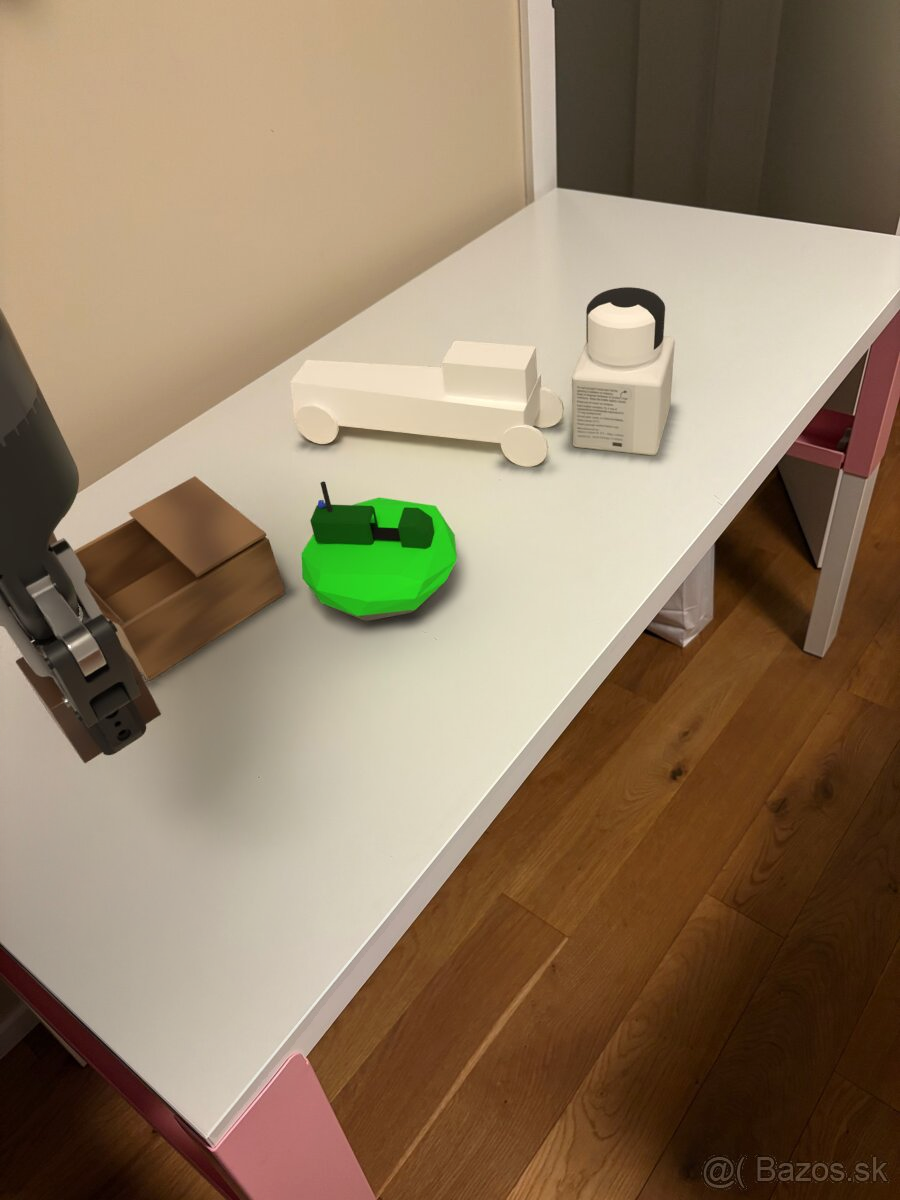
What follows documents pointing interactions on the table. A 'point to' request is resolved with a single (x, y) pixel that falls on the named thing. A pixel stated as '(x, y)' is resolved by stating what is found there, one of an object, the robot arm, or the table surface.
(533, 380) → the toy truck
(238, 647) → the table surface
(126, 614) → the carton
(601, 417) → the container
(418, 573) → the green domed toy
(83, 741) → the block
